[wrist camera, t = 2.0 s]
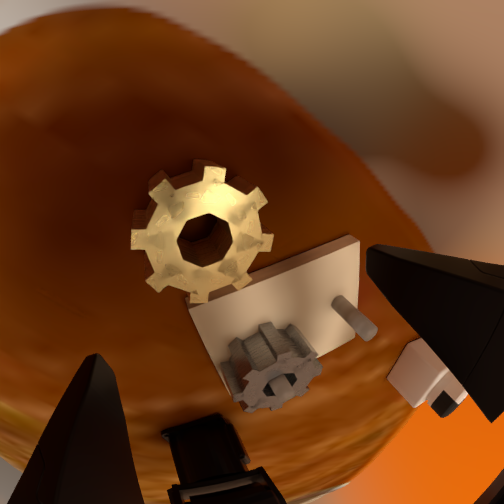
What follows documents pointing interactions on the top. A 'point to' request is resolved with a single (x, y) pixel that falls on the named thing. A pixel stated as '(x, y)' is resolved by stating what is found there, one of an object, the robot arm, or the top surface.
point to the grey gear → (269, 365)
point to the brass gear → (207, 249)
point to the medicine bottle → (426, 379)
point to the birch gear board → (289, 305)
